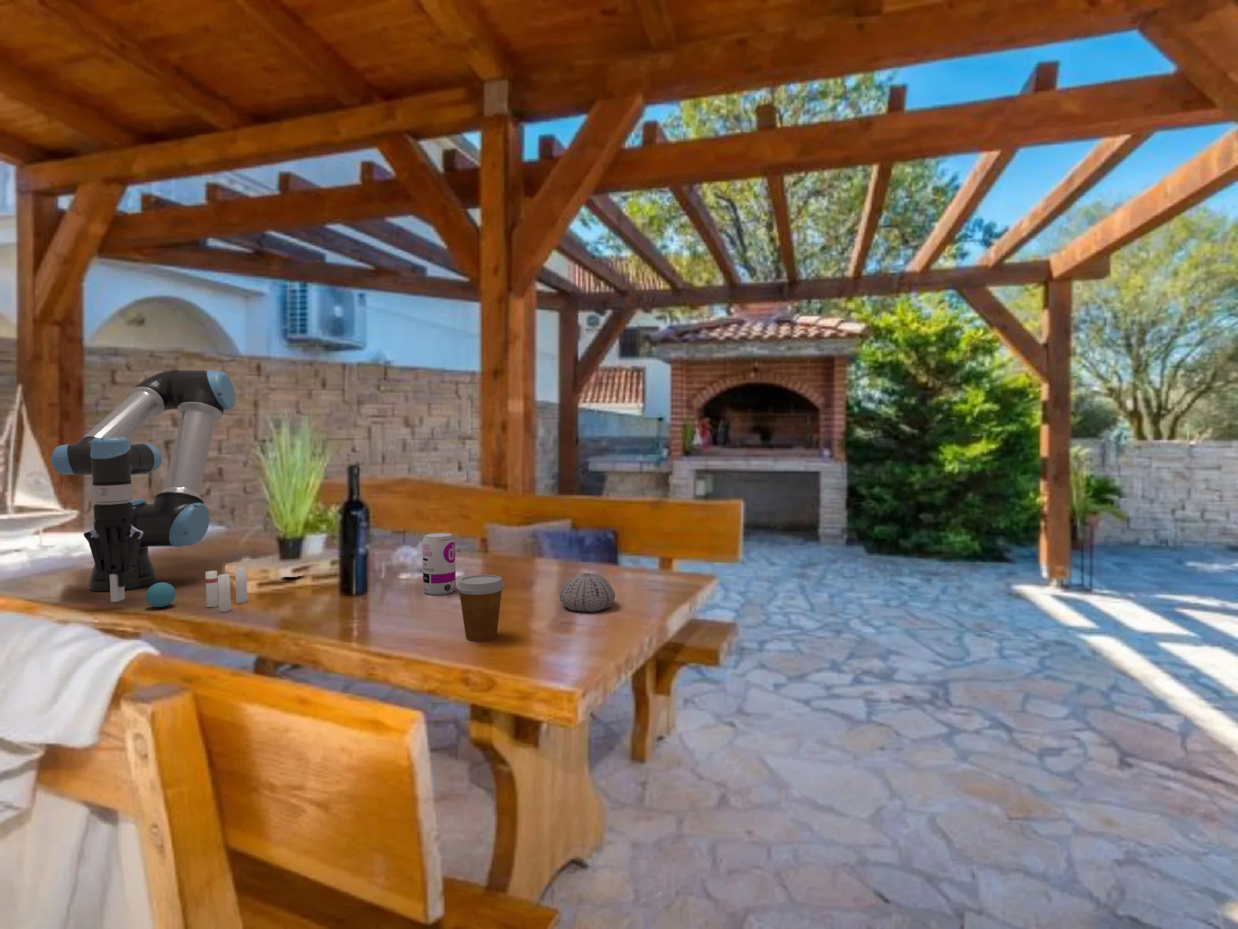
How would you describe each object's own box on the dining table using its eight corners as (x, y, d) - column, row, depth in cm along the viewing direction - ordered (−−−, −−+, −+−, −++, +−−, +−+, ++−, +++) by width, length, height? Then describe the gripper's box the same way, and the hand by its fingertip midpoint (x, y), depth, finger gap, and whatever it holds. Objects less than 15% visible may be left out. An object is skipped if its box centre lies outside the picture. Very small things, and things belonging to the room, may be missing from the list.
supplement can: (461, 589, 183) (460, 533, 182) (444, 596, 176) (443, 538, 175) (435, 586, 186) (434, 531, 185) (416, 594, 178) (415, 536, 177)
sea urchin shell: (622, 602, 170) (621, 569, 170) (606, 617, 157) (606, 582, 157) (571, 598, 174) (570, 566, 174) (551, 612, 161) (551, 578, 161)
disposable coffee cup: (461, 630, 147) (460, 574, 146) (506, 629, 148) (505, 573, 147) (454, 644, 138) (453, 585, 137) (502, 643, 139) (501, 584, 138)
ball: (146, 606, 167) (145, 581, 167) (176, 602, 171) (175, 578, 170) (145, 612, 162) (144, 586, 162) (176, 608, 166) (175, 583, 165)
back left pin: (236, 601, 172) (234, 567, 171) (247, 600, 173) (245, 566, 172) (236, 603, 170) (235, 569, 169) (247, 602, 171) (246, 568, 170)
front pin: (206, 606, 167) (205, 571, 167) (218, 604, 169) (216, 570, 168) (206, 608, 165) (205, 573, 165) (218, 606, 167) (217, 572, 166)
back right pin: (219, 610, 164) (217, 574, 163) (230, 608, 165) (229, 573, 164) (219, 612, 162) (218, 576, 161) (231, 611, 163) (229, 575, 162)
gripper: (73, 504, 160) (78, 604, 162) (131, 503, 161) (135, 603, 162) (95, 500, 168) (100, 596, 169) (151, 500, 168) (155, 595, 170)
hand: (117, 600), depth 166 cm, fingers closed
